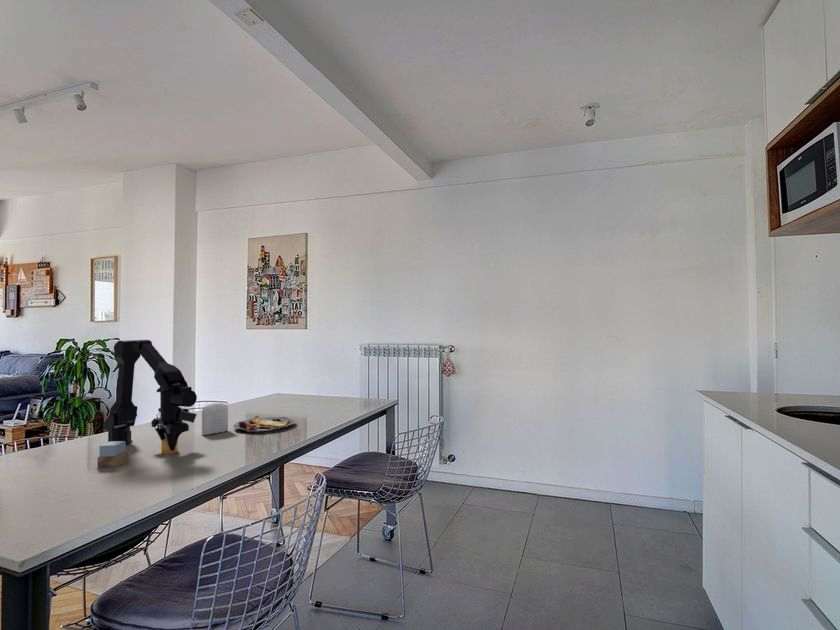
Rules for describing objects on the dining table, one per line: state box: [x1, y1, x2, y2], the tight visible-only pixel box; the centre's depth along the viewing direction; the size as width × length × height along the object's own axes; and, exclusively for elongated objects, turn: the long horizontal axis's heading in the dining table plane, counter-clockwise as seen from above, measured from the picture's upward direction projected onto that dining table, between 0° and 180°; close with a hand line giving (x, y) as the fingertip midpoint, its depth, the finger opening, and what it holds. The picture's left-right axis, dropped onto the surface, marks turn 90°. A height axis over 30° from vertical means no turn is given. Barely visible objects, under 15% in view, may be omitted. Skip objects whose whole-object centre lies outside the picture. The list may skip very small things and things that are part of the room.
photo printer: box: [201, 402, 229, 436], centre depth 182 cm, size 10×4×12 cm, turn 134°
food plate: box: [233, 415, 296, 433], centre depth 191 cm, size 25×23×4 cm
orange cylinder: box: [161, 439, 179, 455], centre depth 155 cm, size 5×5×4 cm
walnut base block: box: [96, 450, 129, 468], centre depth 142 cm, size 6×6×4 cm
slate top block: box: [99, 441, 127, 457], centre depth 142 cm, size 5×5×4 cm
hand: (169, 449), depth 155 cm, fingers closed on orange cylinder, 5 cm apart
